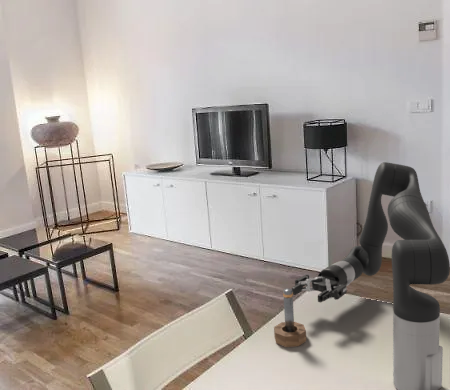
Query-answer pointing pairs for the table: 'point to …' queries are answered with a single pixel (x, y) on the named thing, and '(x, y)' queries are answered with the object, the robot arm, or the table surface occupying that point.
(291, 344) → the bead
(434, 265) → the robot arm
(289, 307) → the banded metal pin
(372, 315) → the table surface
